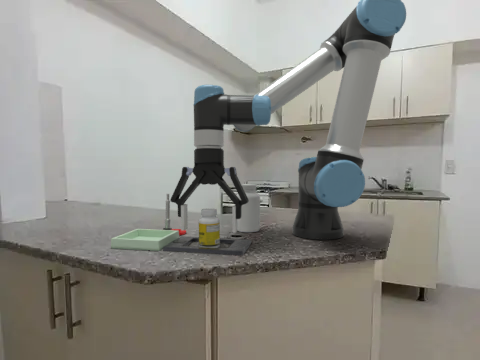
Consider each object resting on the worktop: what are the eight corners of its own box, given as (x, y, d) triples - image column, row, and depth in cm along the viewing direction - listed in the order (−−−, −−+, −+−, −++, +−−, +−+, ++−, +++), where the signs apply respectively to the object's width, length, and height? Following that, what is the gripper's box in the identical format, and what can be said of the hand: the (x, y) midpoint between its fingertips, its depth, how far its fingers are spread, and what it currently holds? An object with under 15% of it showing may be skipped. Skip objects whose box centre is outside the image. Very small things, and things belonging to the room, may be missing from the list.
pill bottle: (258, 233, 100) (259, 185, 99) (233, 232, 101) (233, 184, 100) (261, 228, 107) (261, 183, 107) (237, 227, 109) (237, 183, 108)
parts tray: (179, 239, 91) (179, 230, 91) (158, 251, 79) (158, 241, 79) (137, 237, 94) (137, 228, 94) (111, 248, 81) (110, 238, 81)
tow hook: (164, 232, 104) (152, 236, 95) (165, 192, 104) (153, 193, 95) (189, 233, 103) (179, 238, 94) (190, 192, 103) (180, 193, 94)
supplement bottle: (197, 245, 85) (196, 208, 84) (217, 243, 86) (217, 207, 86) (200, 250, 79) (200, 211, 79) (222, 248, 81) (221, 210, 81)
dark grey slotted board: (251, 243, 87) (251, 239, 87) (242, 255, 75) (242, 250, 75) (181, 239, 91) (181, 236, 91) (163, 250, 79) (163, 246, 79)
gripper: (259, 148, 83) (259, 229, 84) (169, 149, 88) (170, 226, 89) (255, 146, 76) (254, 235, 77) (157, 147, 81) (157, 231, 82)
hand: (209, 230), depth 83 cm, fingers open, 13 cm apart
